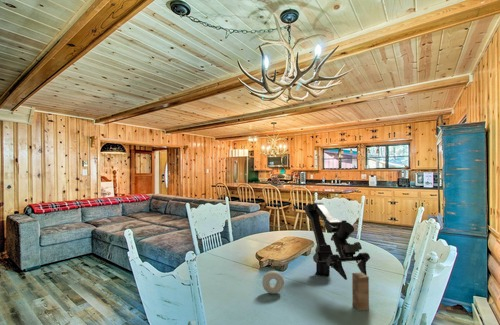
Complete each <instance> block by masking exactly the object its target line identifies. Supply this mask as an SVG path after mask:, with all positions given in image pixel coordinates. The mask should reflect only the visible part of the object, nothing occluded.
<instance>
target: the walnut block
mask: <svg viewBox="0 0 500 325" xmlns="http://www.w3.org/2000/svg"><path fill="white" fill-rule="evenodd" d="M351 275H352V276H351V278H352V279H351V280H352V284H351V286H352V290H351V291H352V306H353V307H354V308H356V310H358V311H359V312H360V311H361V312H362V311H369V310H370V293H369V292H370V290H369V289H370V288H369V287H370V285H369V284H370V282H369V281H370V278H369V276H368V274H367V275H365V274H363V273H362V272H361V271H360V272H352V274H351Z"/></svg>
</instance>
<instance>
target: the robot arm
mask: <svg viewBox="0 0 500 325" xmlns="http://www.w3.org/2000/svg"><path fill="white" fill-rule="evenodd" d="M304 212H305V214H306V217H307V218H308V219H309V220H310V222H311V226H312V231H313V234H314V235H313V236H314V238H315V243H316V246H315V250H314V251H315V253H314V254H313V256H312V259H313V262H315V265H316V270H315V275H317V276H324V277H329V276H330V272H331V271H330V270H331V269H330V268H332V269H333V270H335V271H336V272H337V273H338V274H339V275H340V276H341V277H342V278H343V279H344V280H345V281H347V280H348V277H347V274H346V272H345V270H344V267H343V263H344V262H355V263H357V265H356V266H357V267H358V269H359V271H360V272H362V273H363V274H365V275H367V276H368V274H367V263H368V261H369V260H370V259H371V257H370V254H369V253H368V252H360V250H362V249H363V248H362V244H361V243H360V241H355V242H353V243H352V244H351V243H350V242H348V241H347V239H349V238H350V237H351V235H352V234H353V233H354V231H355V227H354V226H353V225H352V224H351V223H349V222H347V220H346V219H344V220H341V221H340V220H339V219H338V218H336V217H333V216H332V214H331V213H330V212H329V210H328V209H327V208H326V207H325V205H324V203H323V202H313V203H311V204H306V205H305V207H304ZM320 218H321V220H322V221H323V222H324V228H325V230H326V232H327V233H328V234H330V233H331V238H330V241H332V242H333V243H334V245H335V252H336V254H334V253H333V250H332V246H331V244H328V243H327V242H326V239H325V235H324V231H323V228H322V225H321V221H320ZM357 252H359V253H358V254H357V255H356V253H357ZM337 253H338V254H337ZM354 255H355V256H354Z"/></svg>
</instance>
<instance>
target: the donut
mask: <svg viewBox="0 0 500 325" xmlns="http://www.w3.org/2000/svg"><path fill="white" fill-rule="evenodd" d="M272 280H275V281H276V283H275V284H274V285H271V283H270V281H272ZM261 283H262V287H263V290H264V291H265V292H267V293H269V294H271V295H274V294H278V293H280V292H281V291H282V290H283V288H284V285H285V280H284V277H283V275H282V274H281V272H279V271H276V270H269V271H268V272H266V273H265V274H264V275H263V277H262V282H261Z"/></svg>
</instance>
